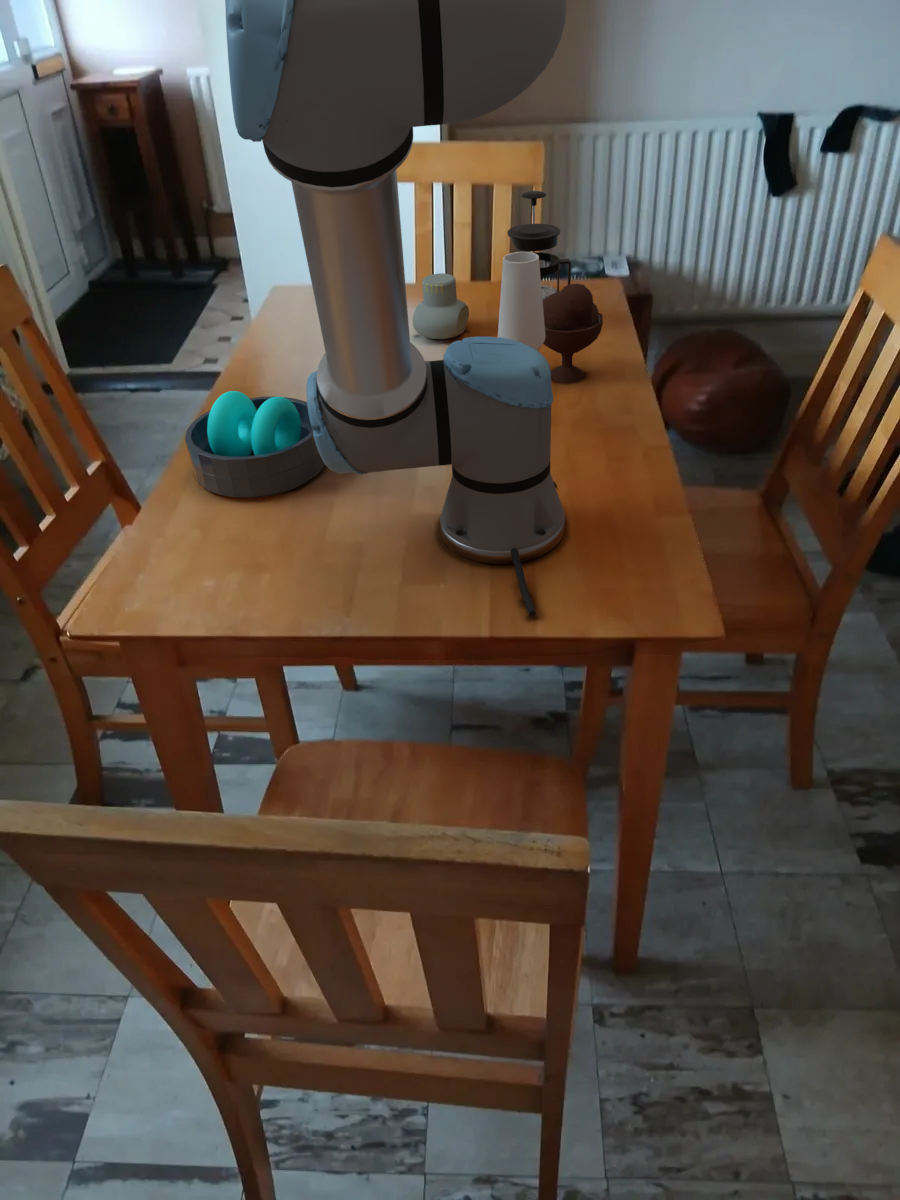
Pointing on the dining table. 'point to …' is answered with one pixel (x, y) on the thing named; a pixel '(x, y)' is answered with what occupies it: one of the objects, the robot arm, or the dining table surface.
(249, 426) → the donuts
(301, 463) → the bowl
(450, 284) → the air freshener
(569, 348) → the ice cream bowl
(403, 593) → the dining table surface
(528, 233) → the french press
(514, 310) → the white tapered vase
